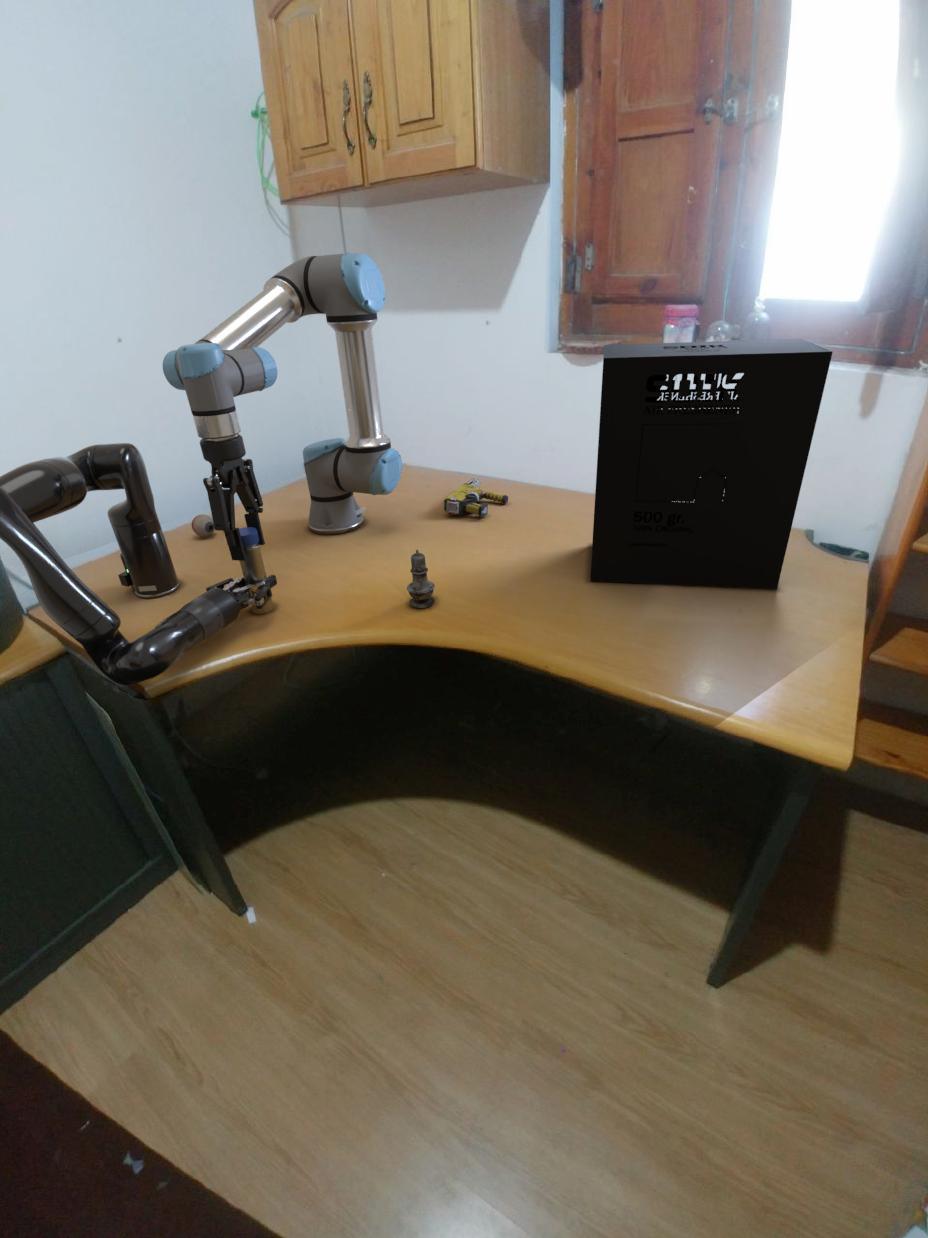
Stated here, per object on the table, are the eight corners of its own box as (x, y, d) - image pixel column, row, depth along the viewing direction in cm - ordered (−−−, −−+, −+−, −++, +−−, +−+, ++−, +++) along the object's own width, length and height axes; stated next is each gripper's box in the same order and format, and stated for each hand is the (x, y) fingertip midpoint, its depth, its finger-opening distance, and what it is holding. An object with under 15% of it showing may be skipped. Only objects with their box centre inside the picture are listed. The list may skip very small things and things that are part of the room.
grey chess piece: (432, 609, 124) (427, 555, 118) (404, 607, 125) (398, 554, 119) (439, 596, 129) (434, 544, 123) (412, 594, 130) (407, 543, 124)
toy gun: (516, 483, 183) (470, 476, 187) (493, 506, 163) (442, 498, 167) (515, 498, 186) (469, 491, 190) (492, 523, 166) (441, 514, 170)
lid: (262, 543, 120) (259, 532, 119) (237, 549, 118) (234, 538, 117) (255, 535, 124) (253, 524, 122) (231, 541, 122) (228, 530, 120)
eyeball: (204, 541, 163) (198, 520, 160) (190, 537, 166) (184, 517, 163) (223, 533, 168) (217, 513, 165) (208, 530, 171) (202, 510, 168)
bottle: (259, 616, 126) (241, 542, 117) (248, 610, 128) (229, 537, 120) (277, 607, 128) (260, 535, 120) (266, 601, 131) (248, 530, 123)
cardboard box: (756, 549, 141) (800, 338, 118) (776, 589, 124) (832, 351, 101) (592, 544, 148) (604, 344, 126) (590, 580, 131) (603, 357, 109)
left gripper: (231, 603, 110) (289, 565, 123) (172, 592, 115) (234, 557, 128) (241, 638, 113) (296, 597, 127) (184, 626, 118) (242, 588, 132)
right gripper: (230, 424, 119) (256, 532, 131) (169, 450, 103) (204, 572, 114) (264, 423, 118) (288, 533, 129) (208, 450, 101) (240, 573, 113)
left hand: (265, 577), depth 127 cm, fingers closed on bottle, 4 cm apart
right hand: (249, 551), depth 122 cm, fingers open, 7 cm apart
